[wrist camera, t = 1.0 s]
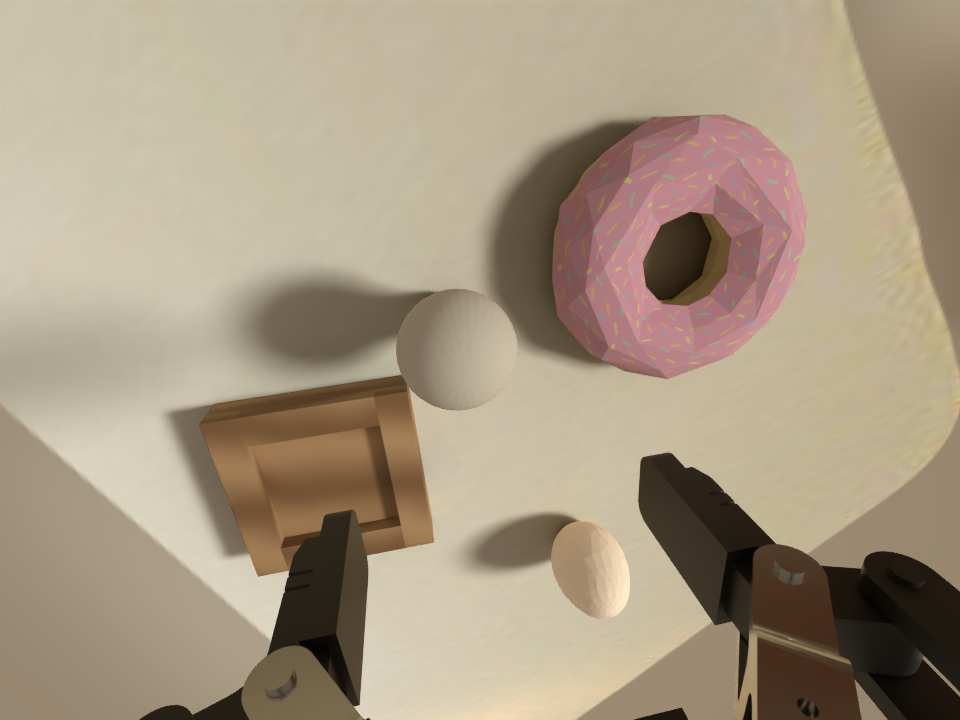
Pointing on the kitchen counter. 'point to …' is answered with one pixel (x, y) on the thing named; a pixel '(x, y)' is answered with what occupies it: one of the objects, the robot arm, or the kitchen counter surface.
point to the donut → (635, 222)
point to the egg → (591, 569)
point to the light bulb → (456, 349)
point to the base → (321, 467)
